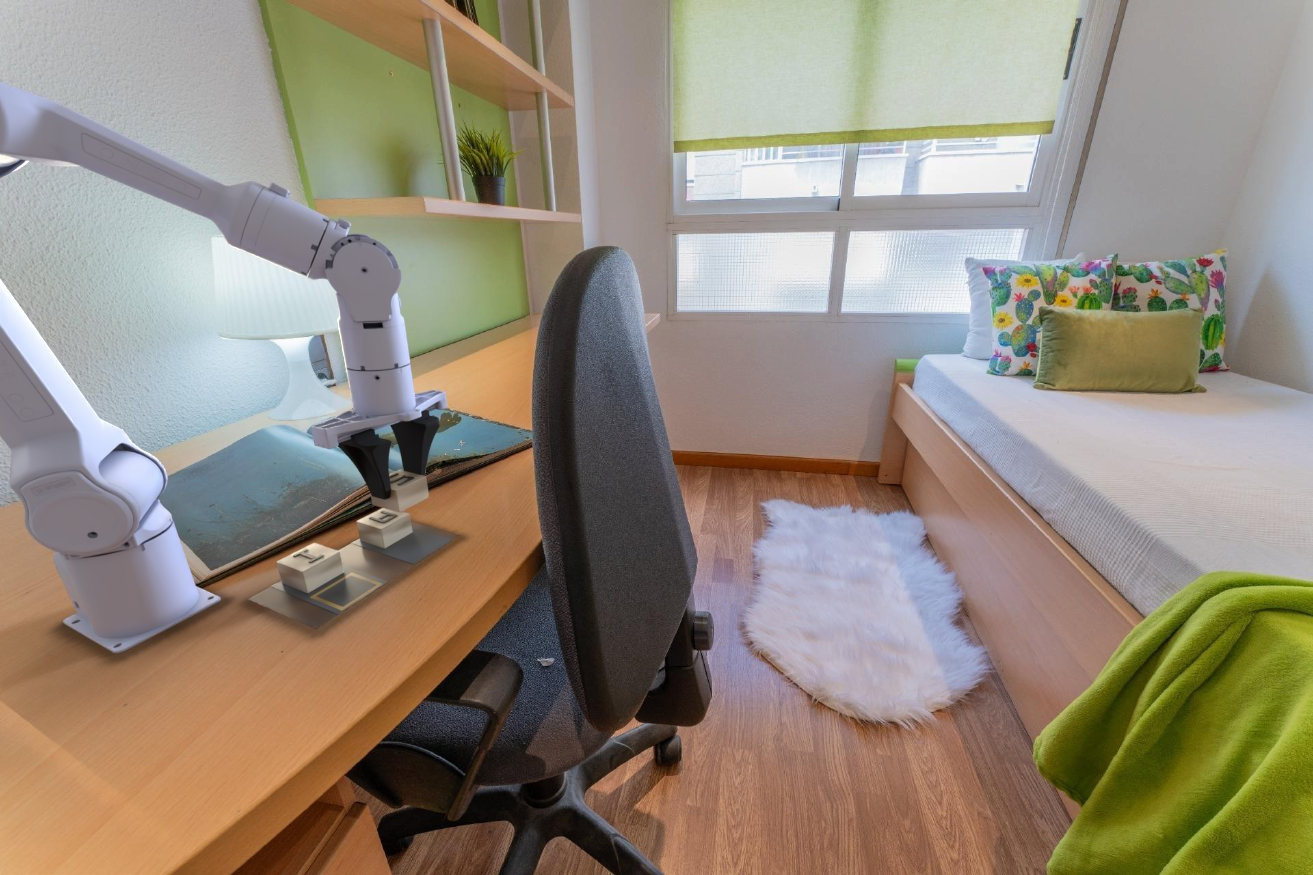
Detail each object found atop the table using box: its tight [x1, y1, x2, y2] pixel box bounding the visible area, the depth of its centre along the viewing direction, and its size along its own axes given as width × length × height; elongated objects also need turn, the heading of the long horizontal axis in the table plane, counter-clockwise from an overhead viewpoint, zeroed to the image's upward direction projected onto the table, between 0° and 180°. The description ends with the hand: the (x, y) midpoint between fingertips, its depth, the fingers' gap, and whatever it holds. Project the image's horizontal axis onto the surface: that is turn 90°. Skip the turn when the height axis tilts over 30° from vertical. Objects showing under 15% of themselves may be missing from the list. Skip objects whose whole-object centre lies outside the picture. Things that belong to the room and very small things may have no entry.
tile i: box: [275, 542, 344, 593], centre depth 54 cm, size 4×4×3 cm
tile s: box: [369, 469, 430, 513], centre depth 56 cm, size 4×4×3 cm
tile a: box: [356, 507, 412, 549], centre depth 61 cm, size 4×4×3 cm
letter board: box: [247, 520, 460, 630], centre depth 57 cm, size 10×18×1 cm, turn 156°
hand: (398, 488), depth 56 cm, fingers closed on tile s, 4 cm apart
